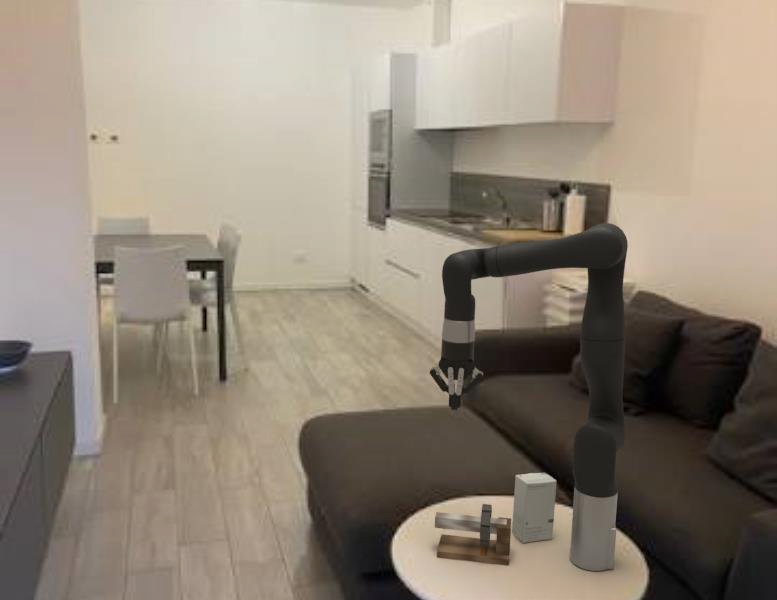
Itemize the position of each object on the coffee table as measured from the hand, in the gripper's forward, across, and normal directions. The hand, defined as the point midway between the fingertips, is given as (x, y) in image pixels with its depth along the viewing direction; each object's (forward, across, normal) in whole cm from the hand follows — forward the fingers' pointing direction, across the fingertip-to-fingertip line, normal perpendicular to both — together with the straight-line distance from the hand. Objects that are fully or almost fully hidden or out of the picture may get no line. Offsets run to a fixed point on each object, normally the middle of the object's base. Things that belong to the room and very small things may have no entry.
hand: (454, 408), depth 181 cm
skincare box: (+30, -20, 0) cm, 36 cm away
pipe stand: (+30, -7, +11) cm, 33 cm away
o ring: (+27, -9, +11) cm, 31 cm away
